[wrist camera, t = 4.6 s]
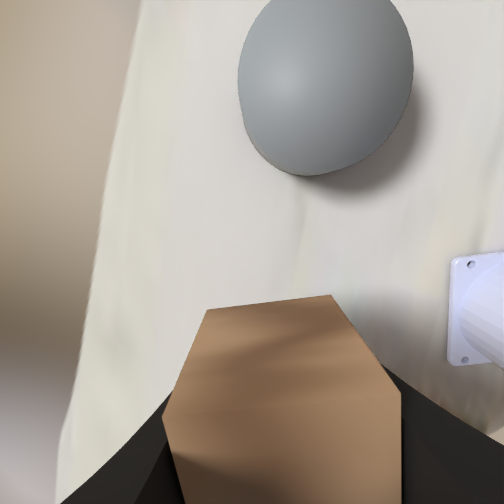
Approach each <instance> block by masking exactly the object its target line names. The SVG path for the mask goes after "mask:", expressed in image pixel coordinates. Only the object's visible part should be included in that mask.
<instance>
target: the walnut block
mask: <svg viewBox="0 0 504 504" xmlns="http://www.w3.org/2000/svg"><path fill="white" fill-rule="evenodd" d="M162 420H163V423H164V427H165V431H166V434H167V438H168V442H169V445H170V449H171V453H172V456H173V460H174V464H175V467H176V471H177V474H178V478H179V482H180V485H181V489H182V493H183V496H184V500H185V504H401V393H400V391H399V390H398V388H397V387H396V386H395V384H394V383H393V381H392V380H391V379H390V377H389V376H388V374H387V373H386V372H385V370H384V369H383V367H382V366H381V365H380V363H379V362H378V360H377V359H376V358H375V356H374V355H373V353H372V352H371V350H370V349H369V348H368V346H367V345H366V343H365V342H364V341H363V339H362V338H361V336H360V335H359V334H358V332H357V331H356V329H355V328H354V327H353V325H352V324H351V322H350V321H349V320H348V318H347V317H346V315H345V314H344V313H343V311H342V310H341V308H340V307H339V306H338V304H337V303H336V301H335V300H334V299H333V297H332V296H331V295H324V296H316V297H308V298H300V299H291V300H283V301H275V302H267V303H258V304H250V305H242V306H234V307H225V308H217V309H209V310H207V311H206V313H205V316H204V318H203V321H202V323H201V325H200V328H199V330H198V332H197V335H196V337H195V340H194V342H193V344H192V347H191V349H190V351H189V354H188V356H187V359H186V361H185V363H184V366H183V368H182V370H181V373H180V375H179V378H178V380H177V382H176V385H175V387H174V389H173V392H172V394H171V397H170V399H169V401H168V404H167V406H166V408H165V411H164V413H163V415H162Z"/></svg>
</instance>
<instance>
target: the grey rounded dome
mask: <svg viewBox="0 0 504 504" xmlns="http://www.w3.org/2000/svg"><path fill="white" fill-rule="evenodd" d="M413 67H414V66H413V51H412V46H411V40H410V37H409V34H408V31H407V28H406V25H405V23H404V21H403V19H402V17H401V15H400V14H399V12H398V11H397V9H396V7H395V6H394V5H393V4H392V2H391V1H390V0H271V1H270V2H269V3H268V4H267V5H266V6H265V7H264V8H263V10H262V11H261V12H260V14H259V15H258V17H257V18H256V19H255V21H254V23H253V25H252V27H251V28H250V30H249V32H248V35H247V37H246V40H245V42H244V45H243V48H242V52H241V56H240V61H239V68H238V94H239V100H240V105H241V110H242V116H243V121H244V125H245V128H246V131H247V134H248V136H249V138H250V140H251V142H252V144H253V145H254V147H255V148H256V150H257V151H258V152H259V153H260V155H261V156H262V157H263V158H264V159H265V160H267V161H268V162H269V163H270V164H272V165H273V166H275V167H276V168H278V169H280V170H282V171H285V172H288V173H290V174H295V175H302V176H312V175H320V174H324V173H328V172H332V171H336V170H340V169H343V168H346V167H348V166H351V165H353V164H355V163H357V162H359V161H361V160H363V159H364V158H366V157H367V156H369V155H370V154H371V153H373V152H374V151H375V150H376V149H377V148H378V147H380V146H381V145H382V143H383V142H384V141H385V140H386V139H387V138H388V137H389V135H390V134H391V133H392V131H393V130H394V129H395V127H396V125H397V124H398V122H399V120H400V118H401V117H402V114H403V112H404V110H405V107H406V105H407V102H408V98H409V95H410V91H411V86H412V80H413Z"/></svg>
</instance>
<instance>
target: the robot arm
mask: <svg viewBox="0 0 504 504" xmlns="http://www.w3.org/2000/svg"><path fill="white" fill-rule="evenodd" d="M469 261H470V265H469V266H467V263H468V262H469ZM463 357H464V358H463ZM462 358H463V359H462ZM447 361H448V362H449V363H450V364H451V365H453V366H465V365H475V364H484V363H495V364H497V365H498V366H499V367H501V368H502V369H504V251H499V252H491V253H483V254H475V255H467V256H460V257H456V258H455V259H453V261H452V263H451V275H450V297H449V319H448V341H447ZM380 365H381V366H382V367H383V369H384V370H385V372H386V373H387V374H388V376H389V377H390V379H391V380H392V381H393V383H394V384H395V386H396V387H397V388H398V390H399V391H400V393H401V504H504V445H502V444H500V443H498V442H497V441H495V440H493V439H492V438H490V437H488V436H487V435H485V434H483V433H481V432H480V431H478V430H476V429H475V428H473V427H471V426H470V425H468V424H466V423H465V422H463V421H461V420H460V419H458V418H457V417H455V416H453V415H452V414H450V413H449V412H447V411H446V410H444V409H443V408H441V407H440V406H438V405H437V404H435V403H434V402H432V401H431V400H429V399H428V398H426V397H425V396H424V395H422V394H421V393H419V392H418V391H416V390H415V389H414V388H412V387H411V386H409V385H408V384H407V383H405V382H404V381H403V380H401V379H400V378H399V377H397V376H396V375H395V374H393V373H392V372H391V371H389V370H388V369H387V368H385V367H384V366H383V365H382V364H380ZM172 392H173V391H172ZM172 392H171V393H170V394H169V396H168V397H167V398H166V399H165V400H164V402H163V403H162V404H161V405H160V406H159V407H158V409H157V410H156V411H155V412H154V413H153V414H152V416H151V417H150V418H149V419H148V420H147V421H146V422H145V423H144V424H143V425H142V426H141V428H140V429H139V430H138V431H137V432H136V433H135V434H134V435H133V436H132V437H131V438H130V440H129V441H128V442H127V443H126V444H125V445H124V446H123V447H122V448H121V449H120V450H119V451H118V452H117V453H116V454H115V455H114V456H113V457H112V458H111V459H110V460H109V461H107V462H106V463H105V464H104V465H103V466H102V467H101V468H100V469H99V470H98V471H97V472H96V473H95V474H94V475H93V476H92V477H90V478H89V479H88V480H87V481H86V482H85V483H84V484H83V485H81V486H80V487H79V488H78V489H77V490H76V491H74V492H73V493H72V494H71V495H70V496H69V497H68V498H66V499H65V500H64V501H63V502H62V503H61V504H185V500H184V496H183V493H182V489H181V485H180V482H179V478H178V474H177V471H176V467H175V464H174V460H173V456H172V453H171V449H170V445H169V442H168V438H167V434H166V431H165V427H164V423H163V420H162V415H163V413H164V411H165V408H166V406H167V404H168V401H169V399H170V397H171V394H172Z"/></svg>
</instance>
